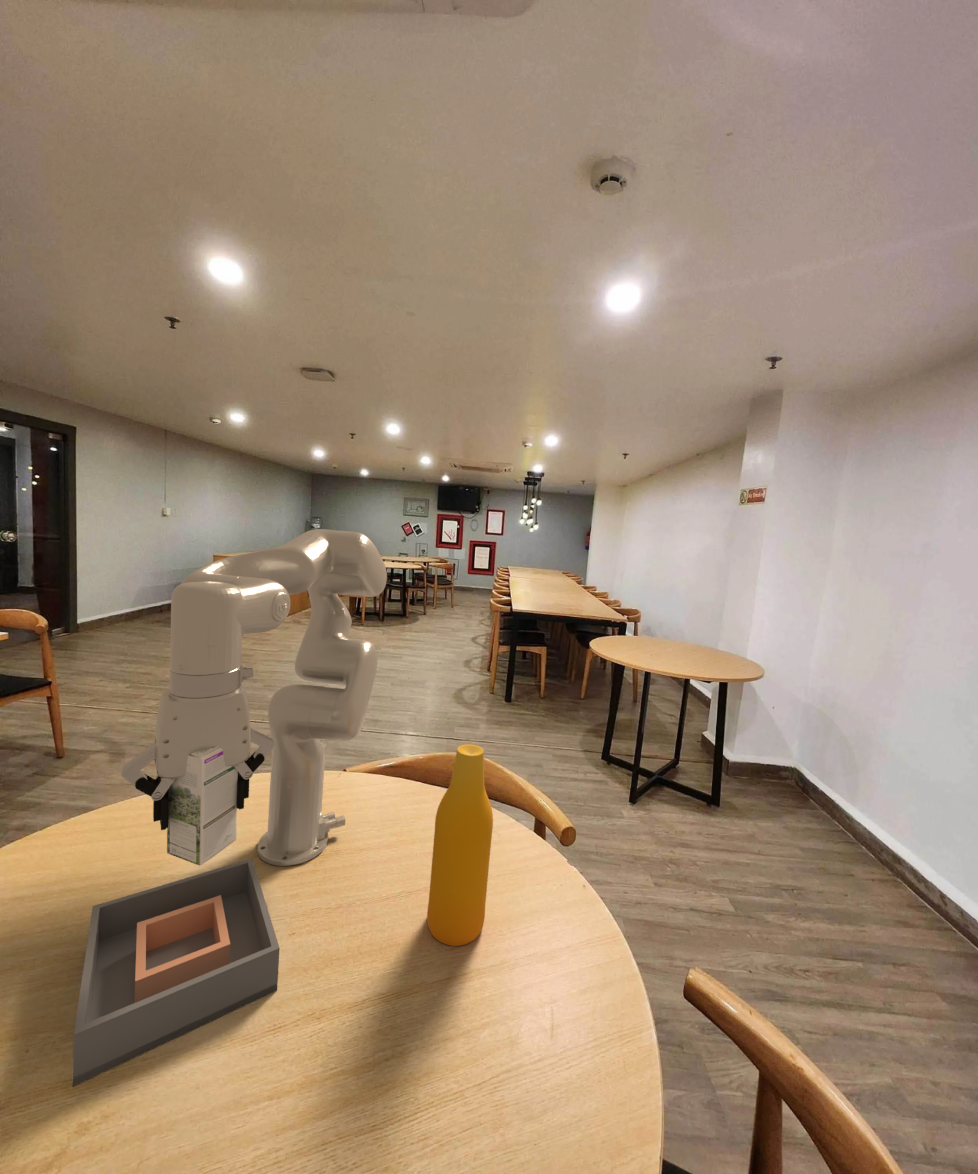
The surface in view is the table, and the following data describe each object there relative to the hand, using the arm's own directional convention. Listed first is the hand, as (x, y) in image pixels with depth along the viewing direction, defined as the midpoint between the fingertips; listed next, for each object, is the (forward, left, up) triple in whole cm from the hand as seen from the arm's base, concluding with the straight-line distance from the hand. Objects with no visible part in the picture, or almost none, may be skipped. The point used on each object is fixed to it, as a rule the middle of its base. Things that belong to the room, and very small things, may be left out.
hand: (202, 812), depth 58 cm
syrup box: (0, 0, -5) cm, 5 cm away
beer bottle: (-35, +10, -23) cm, 43 cm away
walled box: (+1, -3, -23) cm, 24 cm away
